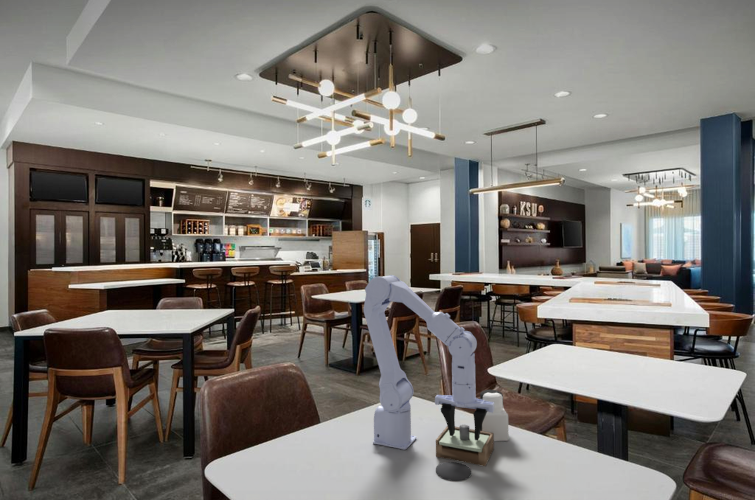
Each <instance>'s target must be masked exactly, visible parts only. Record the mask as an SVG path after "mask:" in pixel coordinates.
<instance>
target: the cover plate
mask: <svg viewBox="0 0 755 500" xmlns="http://www.w3.org/2000/svg"><path fill="white" fill-rule="evenodd" d="M459 427H460V431H458V430H455V433H454V435H453V436H450V433H449V430H448V431H447V433H446V434H445V435H444V436H443V438H442V439H441V440H440V441H439V445H444V446H449V447H455V448H460V449H466V450H471V451H476V452H482V451H483V447H484V445H485V443H486V442H487V440H488V438H489V436H488V435H482V434H480V438H479V439H478V440H475V433H470V432H469V429H470V425H468V424H460V425H459Z"/></svg>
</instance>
